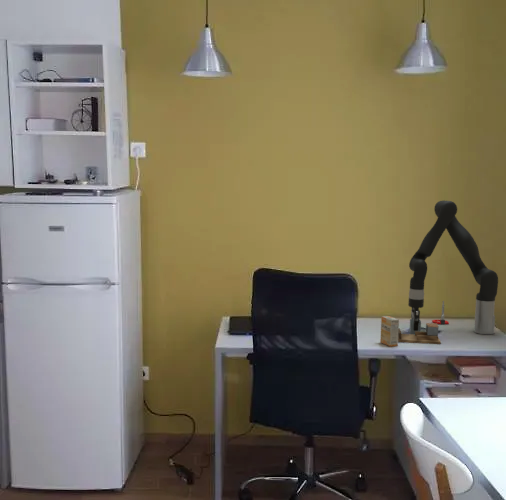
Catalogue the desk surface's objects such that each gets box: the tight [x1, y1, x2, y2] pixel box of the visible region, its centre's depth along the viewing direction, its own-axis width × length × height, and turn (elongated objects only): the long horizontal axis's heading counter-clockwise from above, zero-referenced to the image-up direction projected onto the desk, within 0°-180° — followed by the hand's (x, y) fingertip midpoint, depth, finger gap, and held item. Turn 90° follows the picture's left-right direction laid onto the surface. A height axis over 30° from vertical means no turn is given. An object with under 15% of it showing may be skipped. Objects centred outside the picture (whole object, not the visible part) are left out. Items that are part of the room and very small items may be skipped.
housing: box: [408, 318, 422, 334], centre depth 336 cm, size 5×4×8 cm
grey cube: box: [425, 322, 439, 337], centre depth 322 cm, size 5×6×6 cm
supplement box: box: [379, 315, 400, 348], centre depth 314 cm, size 8×5×13 cm, turn 23°
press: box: [398, 328, 442, 345], centre depth 323 cm, size 20×12×4 cm, turn 83°
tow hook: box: [431, 300, 450, 325], centre depth 361 cm, size 8×13×9 cm
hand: (414, 328), depth 336 cm, fingers open, 8 cm apart
